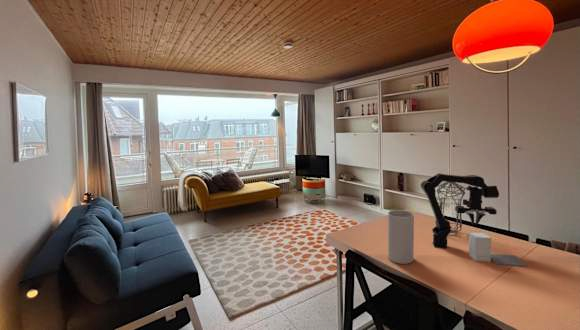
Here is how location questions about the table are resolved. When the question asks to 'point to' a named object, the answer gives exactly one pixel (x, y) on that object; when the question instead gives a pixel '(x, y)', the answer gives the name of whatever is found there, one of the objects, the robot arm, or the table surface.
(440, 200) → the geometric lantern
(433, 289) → the table surface
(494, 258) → the mat
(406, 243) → the cylinder vase
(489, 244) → the supplement box
